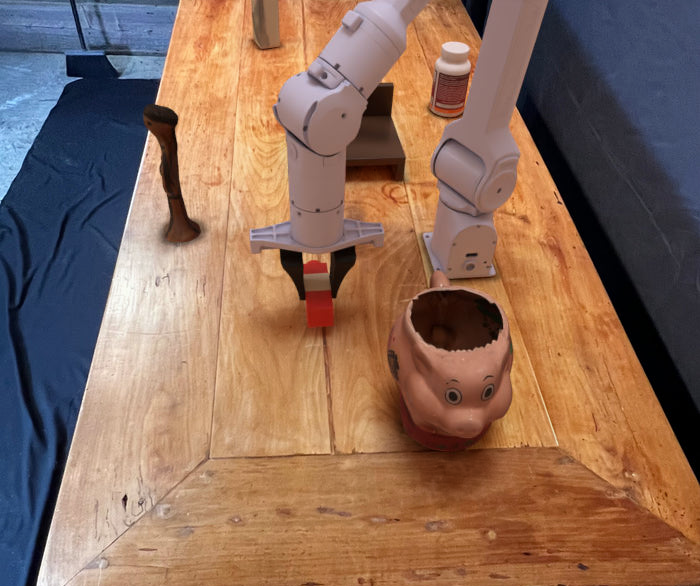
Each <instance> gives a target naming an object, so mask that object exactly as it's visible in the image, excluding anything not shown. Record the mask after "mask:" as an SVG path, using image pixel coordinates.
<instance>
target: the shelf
mask: <svg viewBox="0 0 700 586" xmlns="http://www.w3.org/2000/svg"><path fill="white" fill-rule="evenodd" d="M394 93H395V84H394V82H380V83H379V85H378V86H377V87H376V88H375V90H374V91H373V92H372V93H371V95H370V96H369V97H368V99H367V100H366V101H367V102H368V104H367V105H366V107H367V108H366V109H365V111H364V112H363V115H362V118H361V125H360V128H359V131H358V133H357V135H356V137H355V139H354V140H353V141H351V142H350V143H349V144H348V145H347V146H346V167H360V166H364V167H365V166H390V167H391V170H392V173H393V176H394V179H395V181H404V177H405V170H406V160H407V156H406V153H405V150H404V148H403V146H402V142H401V139H400V137H399V134H398V131H397V128H396V124H395V122H394V119H393V117H392V115H393V114H392V113H393V103H394V102H393V101H394Z"/></svg>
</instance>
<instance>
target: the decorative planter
mask: <svg viewBox="0 0 700 586" xmlns="http://www.w3.org/2000/svg"><path fill="white" fill-rule="evenodd" d="M389 331H390V332H389V336H388V339H387V346H386V347H387V348H386V356H387V357H386V358H387V363H388V368H389V372H390V375H391V376H392V378H393V380H394V381H395V383H396V384H397V385H398V390H399V404H398V409H399V416H400V419H401V422H402V426H403V430H404V431H405V433H406V435H407V436H408V437H409V438H411V439H412V440H413V441H415V442H417V444H420V445H421V446H423V447H425V448H428V449H432V450H436V451H442V452H454V451H455V452H456V451H461V450H464V449H468V448H470V447H472V446H474V445H475V444H477V443H478V442H479V441H481V440H482V439H483V438H484V436H485V435H486V434H487V432H488V431H489V430H490V428H491V426H492V424H493V422H495V421H498V420H501V419H503V418H504V417H505V416H506V415H507V413H508V411H509V410H510V407H511V405H512V401H513V393H514V392H513V385H512V380H511V372H512V368H513V363H514V345H513V340H512V336H511V332H510V322H509V319H508V317H507V314H506V311H505V310H504V308H503V307H502V305H501V304H500V303H499V302H498V300H496V299H495V298H494V297H493V296H491V295H489V294H488V293H486V292H484V291H482V290H479V289H476V288H473V287H470V286H469V287H468V286H463V285H452V283H451V281H450V279H449V278H448V277H447V276H446V275H445V273H443V272H442V271H439V270H436V271H435V272H434V271H433V273H432V274H431V276H430V277H429V285H428V288H426V289H424V290H422V291H419V292H418V293H416V294H415V295H414V296H412V298H410V300H409V301H408V303H407V306H406V307H405V309H404V311H403V312H402V313H401V314H399V315H398V316H397V318H396V319H395V320H394V322H393V324H392V325H391V328H390V330H389Z"/></svg>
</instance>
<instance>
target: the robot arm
mask: <svg viewBox="0 0 700 586" xmlns="http://www.w3.org/2000/svg"><path fill="white" fill-rule="evenodd" d="M431 1H432V0H366V1H360V2H358V3H357V4H356V5H355V7H354V8H353V9H349V10H348V11H347V12H346V13H345V14H344V16H343V17H342V19H340V23H341V26H339V28H338V29H337V30H336V32H335V33H334V34H333V35H332V37H331V38H330V40H329V41H328V42H327V43H326V45H325V46H324V47H323V49H322V50H321V51H320V53H319V54H318V56H317V57H316V58H315V59H314V60H313V61H312V62H311V63H310V65H309V66H308V68H307V70H304V71H301V72H299V73H296V74H293V75H292V76H290V77H289V78H287V79H286V81H285V82H284V83H283V84H282V86H281V88H280V90H279V92H278V95H277V102H276V103H274V104H273V105H272V106H271V107H272V112H273V116H274V118H275V120H276V121H277V123H278V124H279V125H280V126H281V127H282V128H283V130H284V135H285V143H286V155H287V156H286V157H287V158H286V159H287V160H286V161H287V179H288V180H287V181H288V200H289V201H288V202H289V220H286V221H283V222H279V223H275V224H272V225H268V226H262V227H258V228H249V246H250V254H251V255H260V254H261V253H262V251H266V250H278V251H279V261H280V265H281V267H282V270H283V271H284V272H286V274H287V275H288V276H289V278H290V279H291V280H292V283H293V285H294V287H295V289H296V291H297V295H298V298H299V299H298V300H299V301H301V302H302V301H304V300H305V299H306V295H305V288H304V265H303V264H304V258H303V257H304V255H303V254H310V255H326V254H329V256H330V257H329V259H330V262H329V263H330V264H329V272H328V273H329V279H330V285H331V294H332V300H333V299H337V298H338V294H339V290H340V287H341V286H342V283H343V281H344V279H345V277H346V276H347V274H348V273H349V272H350V271H351V269H352V268H353V267H354V266H355V264H356V262H357V251H356V245H359V246H360V245H373V247H374V248H383V247H384V246H385V233H386V232H385V229H384V225H383V222H370V221H363V220H358V219H350V218H345V204H346V203H345V201H346V199H345V198H346V197H345V196H346V171H347V170H346V167H347V166H346V146H347V145H348V144H349V143H350V142H351V141H353V140H354V139H355V137H356V135H357V133H358V131H359V128H360V125H361V118H362V115H363V112H364V111H365V109H366V108H367V107H366V105H367V104H368V102H367V101H366V100H367V99H368V97H369V96H370V95H371V93H372V92H373V91H374V90H375V88H376V87H377V86H378V85H379V83H382V81H383V80H384V79H385V77H386V76H387V75H388V73H389V72H390V71H391V70H392V68H393V67H394V66H395V65H396V63H397V62H398V60H400V58H401V57H402V55H403V54H404V53H405V52H406V50H407V46H408V45H407V40H408V39H407V36H408V35H407V34H408V33H407V32H408V27H409V26H410V24H411V23H412V22H413V21H414V20H415V19H416V18H417V17H418V16H419V15H420V14H421V12H422V11H423V10H424V9H425V8H426V7H427V6H428V5H429V3H430V2H431ZM548 3H549V0H492V1H491V4H490V9H489V13H488V17H487V21H486V24H485V28H484V32H483V35H482V39H481V43H480V47H479V51H478V55H477V59H476V63H475V67H474V70H473V74H472V78H471V81H470V82H471V83H470V86H469V90H468V92H467V93H468V94H467V96H466V100H465V106H464V110H463V112H462V117H459V118H457V119H455V120H451V122H449V123H447V124H446V125H445V126H444V128H443V132H442V136H441V138H440V140H439V142H438V144H437V145H436V147H435V149H434V150H433V152H432V155H431V159H430V162H429V163H430V165H429V166H430V167H429V169H430V172H431V174H432V176H433V177H434V178H435V179H437V180H436V189H438V191H439V193H438V200H437V206H436V210H435V211H436V212H435V217H434V223H433V230H432V231H429V232H423V233H422V239H423V242H424V245H425V248H426V252H427V255H428V258H429V260H430V264H431V266H432V269H433V273H434V272H435V271H436V270H439V271H442V272H443V273H445V275H446V276H447V277H448V278H449V280H451V279H467V278H484V277H485V278H486V277H487V278H488V277H494V276H496V269H495V267H494V265H493V260H494V256H495V252H496V248H497V244H498V241H499V240H498V239H499V238H498V231H497V229H496V225H495V222H494V214H495V210H498V209H500V208H501V207H502V206H504V205H505V204H506V202H507V201H508V200H509V199H510V198H511V196H512V195H513V193H514V191H515V189H516V185H517V181H518V166H519V165H518V164H519V160H520V158H521V150H520V148H519V146H518V144H517V141H516V140H515V137H514V135H513V133H512V131H511V129H510V128H511V127H510V123H511V120H512V117H513V114H514V111H515V108H516V104H517V101H518V98H519V94H520V92H521V89H522V85H523V82H524V79H525V76H526V73H527V69H528V66H529V63H530V60H531V57H532V54H533V50H534V47H535V44H536V41H537V37H538V35H539V31H540V28H541V25H542V22H543V19H544V15H545V14H546V13H545V12H546V9H547V6H548Z"/></svg>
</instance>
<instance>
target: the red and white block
mask: <svg viewBox="0 0 700 586" xmlns="http://www.w3.org/2000/svg"><path fill="white" fill-rule="evenodd" d="M303 265H304V288H305V295H306V299H305V300H303V301H304V310H305V315H306V323H307V328H308V329H309V328H323V327H325V328H326V327H334V319H335V317H334V316H335V315H334V313H335V312H334V311H335V308H334V302H333V299H332V294H331V285H330V279H329V273H330V272H329V270H328V269H329V268H328V264H327V262H320V261H319V260H317V259H312V260H308V261H307V262H306V263H303Z"/></svg>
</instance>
